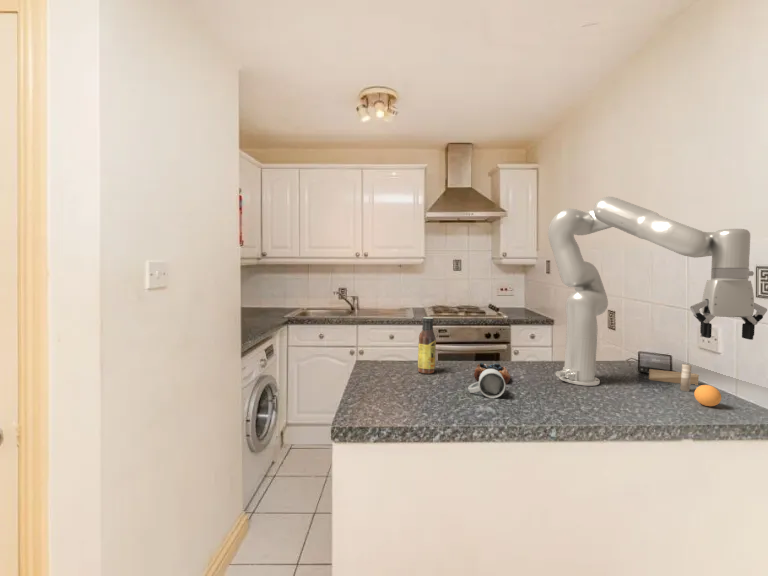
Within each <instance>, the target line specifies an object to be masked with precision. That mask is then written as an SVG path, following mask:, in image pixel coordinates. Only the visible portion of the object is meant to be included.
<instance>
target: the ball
mask: <svg viewBox="0 0 768 576" xmlns="http://www.w3.org/2000/svg"><path fill="white" fill-rule="evenodd" d="M721 394H722V393H721V392H720V391H719V389H717V387H715V386H713V385H709V384H702V385H698V387H696V389H695V390H694V394H693V395H694V399H696V401H697V403H699V404H700V405H702V406H706V407H715V406H717V405H719V404H720V403H721V401H722V395H721Z"/></svg>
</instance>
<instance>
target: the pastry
mask: <svg viewBox="0 0 768 576" xmlns="http://www.w3.org/2000/svg"><path fill="white" fill-rule="evenodd" d="M486 369H495V370H497V371H499V372H500V373H501V375H502V376H503V378H504V380H505V384H506V385H508V384H509V382H510V380H511V373H509V371H508V369H507V367H505V366H503V365H501V364H500V363H493V364H486V363H484V362H480V363H478V364H476V368H475V369H474V373H473V376H474V379H475V381H476V382H479V377H480V374H481V373H482V372H483V371H484V370H486Z"/></svg>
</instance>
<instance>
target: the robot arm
mask: <svg viewBox="0 0 768 576" xmlns="http://www.w3.org/2000/svg"><path fill="white" fill-rule="evenodd" d="M611 228H615V229H617V230H620V231H623V232H624V233H627V234H630V235H632V236H634V237H636V238H638V239H641V240H645V241H648V242H650V243H653V244H655V245H657V246H659V247H662V248H664V249H667V250H668V251H672V252H674V253H676V254H678V255H681V256H685V257H688V258H694V259H695V258H705V257H706V258H707V257H711V267H710V268H711V269H710V270H711V271H710V279H708V280H706V283H705V285H704V289H703V295H702V300H701V301H700V302H698V303H695V304H693V305H691V306H690V307H689V308H690V310H691V313H692V314H693V316H694V317H695V318H696V319H697V320H698V322H699V323H700V326H699V327H700V328H699V329H700V331H699V332H700V335H701V337H702V338H706V339H710V338H712V328H713V327H712V326H713V324H712V323H710V322H711V321H712V320H713V319H714V318H715V317H717V318H718V317H720V318H721V317H722V318H740V319H741V320H742V321H744V323H742V328H741V338H743V339H746V340H751V341H752V340H754V336H755V327H756V325H758V323H759V322H761V321H762V319H764V316H765V314H766V313H767V311H768V308H767V307H765V306H762V305H760V304H758V303H756V302H755V295H754V289H753V284H752V281H751V280H749V279H750V277H753V276H754V275H755V273H754V271H753V270H750V250H751V232H750V231H749V230H748V229H745V228H727V229H726V228H725V229H720V230H716V231H715V232H714V231H713V232H712V231H711V232H710V231H702V230H700V229H697V228H694V227H691V226H689V225H686V224H683V223H681V222H678V221H675V220H673V219H670V218H668V217H665V216H662V215H660V214H659V213H657V212H656V211H654V210H650V209H647V208H645V207H643V206H640V205H637V204H634V203H631V202H628V201H625V200H623V199H621V198H618V197H614V196H604V197H602V198H600V199H598V201H597V202H596V203H595V205H593V208H591V209H589V210H586V211H585V210H584V211H582V210H580V209H577V208H565V209H563V210H561V211H559V212H558V213H556V215H555V216H553V218H552V219H551V221H550V222H549V227H548V231H547V236H548V241H549V244H550V249H551V250H552V254H553V256H554V261H555V265H556V267H557V271H558V273H559V276H560V280H561V281H562V283H563V285H564V286H566V287H568V288H574V292H572V293H571V294H570V295H568V297H567V299H566V301H565V315H566V317H565V318H566V332H565V352H564V366H563V367H562V370H557V371H556V372H555V376H556V377H557V378H559V379H560V380H561V381H563V382H565V383H569V384H571V385H572V384H573V385H576V386H577V385H578V386H585V387H586V386H587V387H592V386H593V387H594V386H598V385H600V379H599V378H597V377H595V376H596V363H597V349H598V348H597V347H598V318H597V316H601V315H602V314H604V313H605V312H606V311H607V309H608V306H609V301H608V299H609V298H608V296H607V292H606V290H605V287H604V284H603V281H602V278H601V275H600V273H599V270H598V269H597V267H596V266H595V265H594V263H593V264H592V263H591V262H588V261H585V260H584V258H583V255H582V253H581V250H580V247H579V244H578V242H577V240H576V238H575V235H576V236H586V235H590V234H591V235H592V234H594V233H597V232H601V231H603V230H604V231H605V230H607V229H611ZM700 311H701V312H700ZM755 311H756V312H755ZM754 312H755V314H754Z"/></svg>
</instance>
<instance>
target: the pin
mask: <svg viewBox="0 0 768 576" xmlns="http://www.w3.org/2000/svg"><path fill="white" fill-rule="evenodd" d="M681 372H682V373H681V383H680V387H679V389H680V391H682V392H690V388H691V384H690V378H691V373H692V365H691V364H686V363H682V364H681Z"/></svg>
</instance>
